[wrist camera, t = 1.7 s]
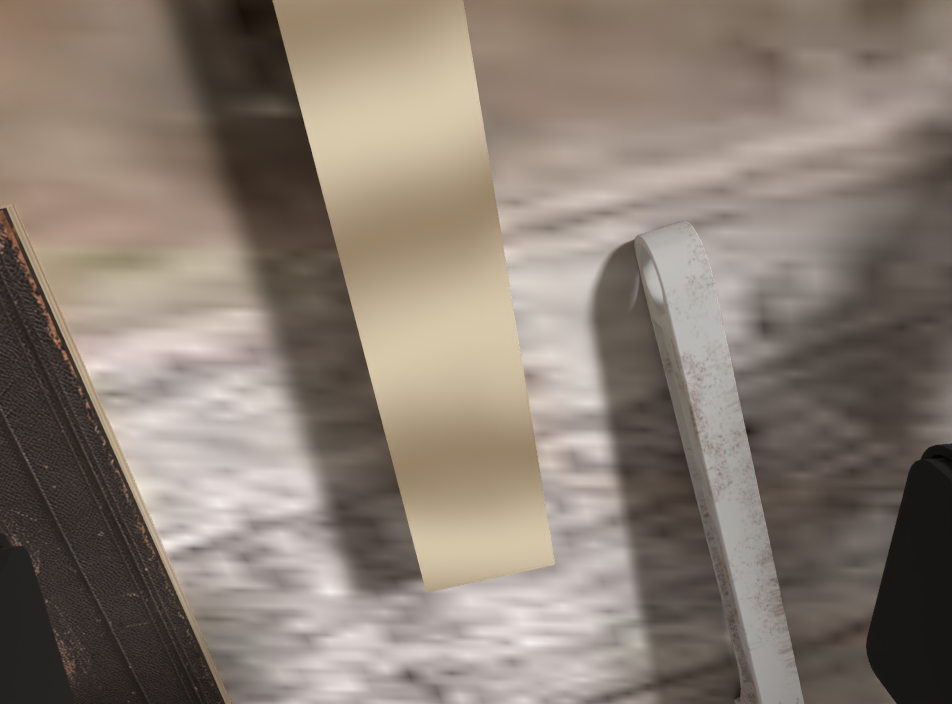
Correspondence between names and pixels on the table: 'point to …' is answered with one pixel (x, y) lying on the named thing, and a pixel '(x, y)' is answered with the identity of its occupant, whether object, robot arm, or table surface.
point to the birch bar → (424, 272)
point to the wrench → (718, 457)
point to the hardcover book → (85, 510)
